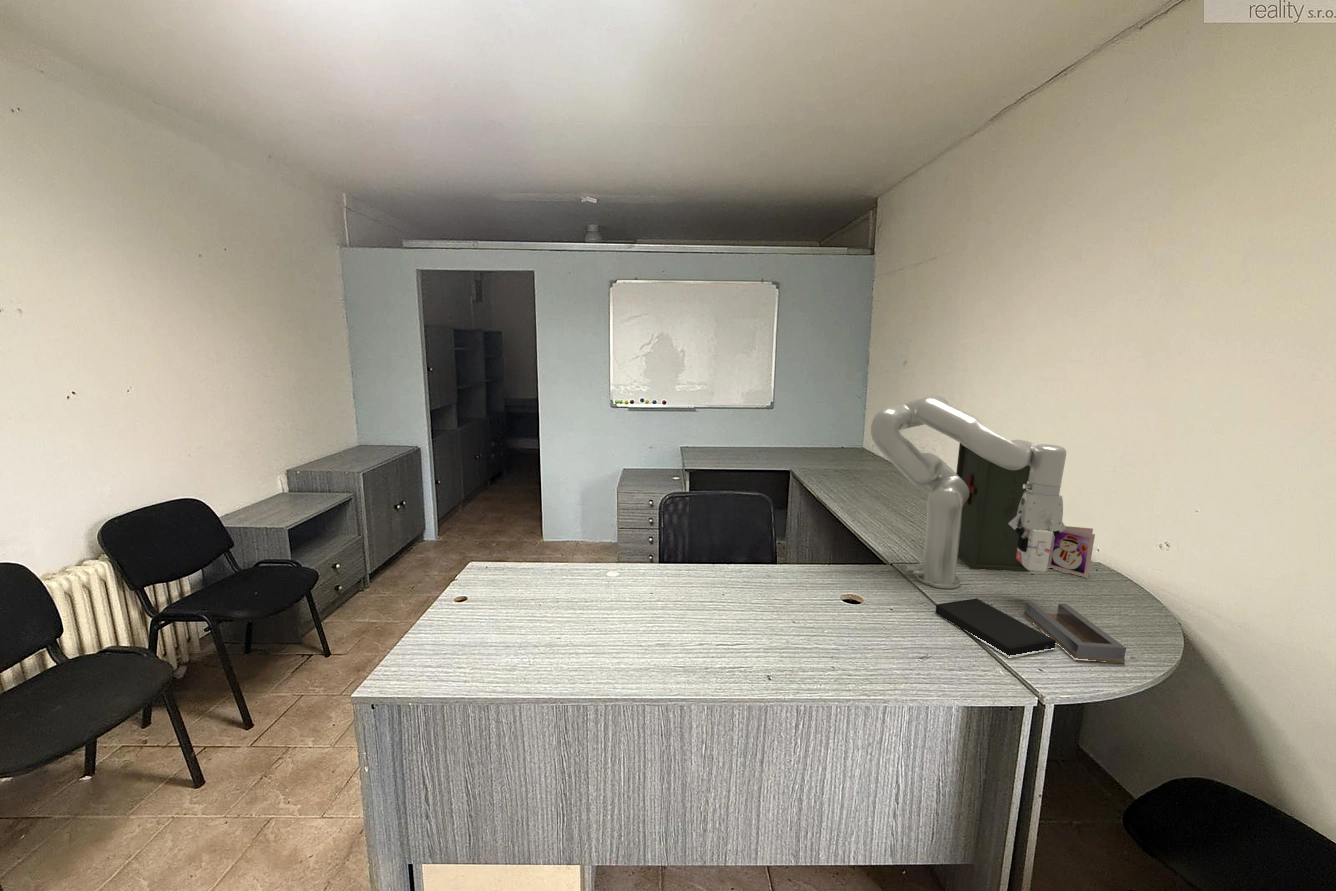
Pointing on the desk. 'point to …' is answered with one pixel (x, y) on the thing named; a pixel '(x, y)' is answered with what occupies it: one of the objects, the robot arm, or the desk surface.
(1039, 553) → the ink cartridge box
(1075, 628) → the frame
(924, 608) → the desk surface
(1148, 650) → the desk surface
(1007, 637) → the external hard drive
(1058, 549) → the greeting card
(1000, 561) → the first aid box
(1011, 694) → the desk surface
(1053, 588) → the desk surface
